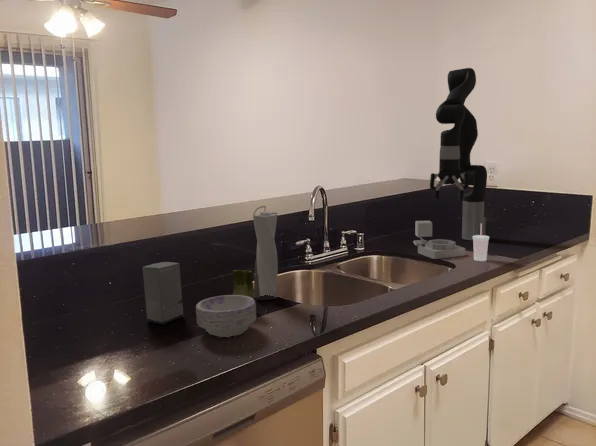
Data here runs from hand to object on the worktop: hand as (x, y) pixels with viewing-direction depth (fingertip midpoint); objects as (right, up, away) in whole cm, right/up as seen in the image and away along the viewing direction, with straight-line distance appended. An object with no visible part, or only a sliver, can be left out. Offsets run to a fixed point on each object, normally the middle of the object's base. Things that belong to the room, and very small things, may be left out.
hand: (448, 199), depth 213 cm
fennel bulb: (-74, -34, -55) cm, 99 cm away
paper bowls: (-77, -37, -72) cm, 111 cm away
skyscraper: (-68, -32, -43) cm, 87 cm away
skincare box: (-95, -36, -61) cm, 119 cm away
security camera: (-4, -19, +27) cm, 33 cm away
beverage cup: (+11, -23, -4) cm, 26 cm away
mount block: (-1, -22, +7) cm, 23 cm away
